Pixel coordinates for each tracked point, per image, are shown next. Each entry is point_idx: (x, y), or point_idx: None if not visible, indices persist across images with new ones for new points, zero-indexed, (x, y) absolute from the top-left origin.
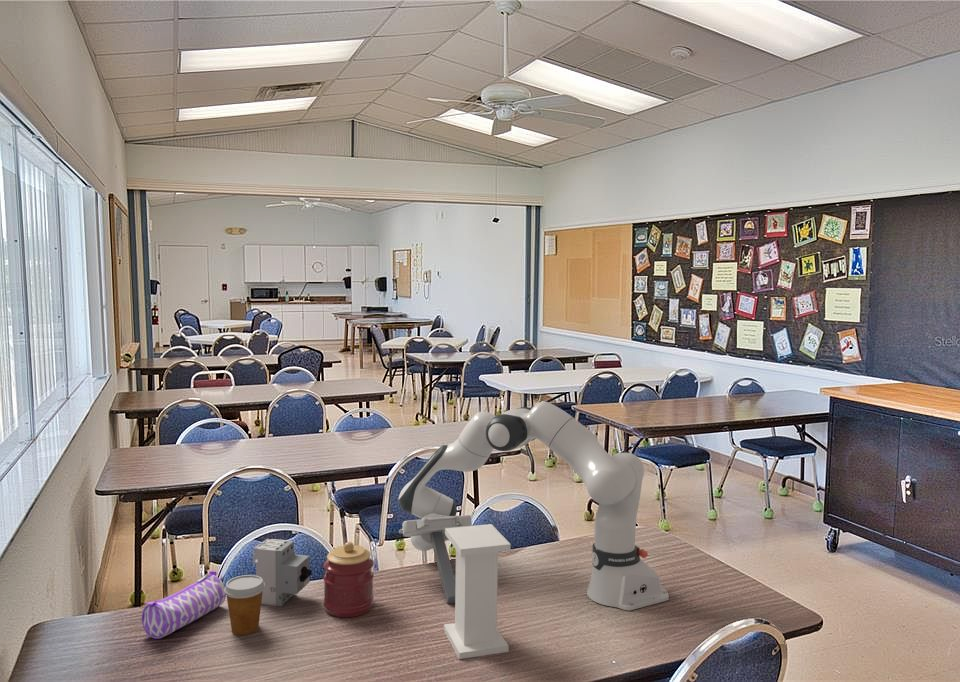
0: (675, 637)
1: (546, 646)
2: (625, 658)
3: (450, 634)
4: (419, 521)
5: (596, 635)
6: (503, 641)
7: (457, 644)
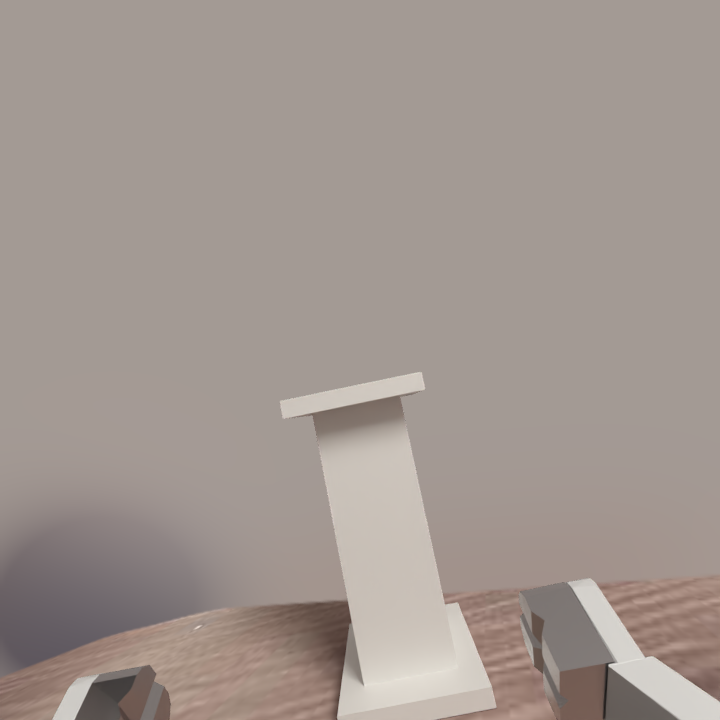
0: (19, 682)
1: (266, 654)
2: (173, 633)
3: (472, 648)
4: (718, 711)
5: None
6: (352, 633)
7: (458, 621)
